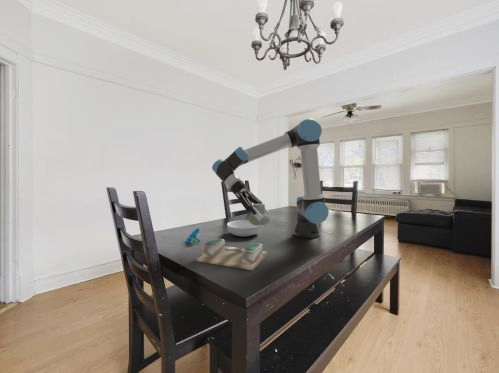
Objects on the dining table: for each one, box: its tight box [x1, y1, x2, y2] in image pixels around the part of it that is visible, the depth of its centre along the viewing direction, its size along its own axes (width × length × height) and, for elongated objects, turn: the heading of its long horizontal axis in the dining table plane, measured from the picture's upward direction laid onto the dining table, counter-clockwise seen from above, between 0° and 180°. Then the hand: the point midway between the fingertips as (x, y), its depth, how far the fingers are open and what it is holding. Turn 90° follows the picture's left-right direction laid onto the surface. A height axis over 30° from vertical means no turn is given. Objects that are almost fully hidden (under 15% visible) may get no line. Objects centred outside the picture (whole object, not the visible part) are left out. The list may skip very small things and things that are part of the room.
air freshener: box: [247, 203, 271, 227], centre depth 115 cm, size 11×8×10 cm
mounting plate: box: [195, 237, 268, 271], centre depth 102 cm, size 26×18×6 cm
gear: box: [185, 227, 201, 245], centre depth 126 cm, size 11×6×10 cm
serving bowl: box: [226, 219, 262, 238], centre depth 140 cm, size 21×21×7 cm
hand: (264, 217), depth 114 cm, fingers closed on air freshener, 10 cm apart
